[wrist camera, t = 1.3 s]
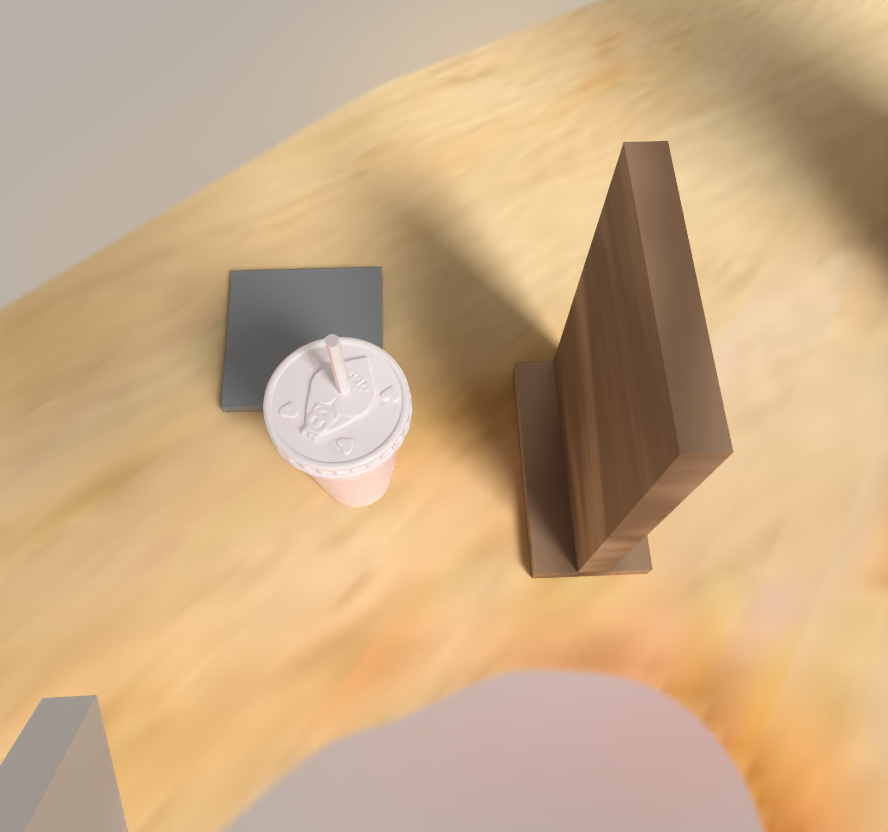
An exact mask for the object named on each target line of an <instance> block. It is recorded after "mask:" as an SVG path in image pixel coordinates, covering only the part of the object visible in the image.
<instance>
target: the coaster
mask: <svg viewBox="0 0 888 832" xmlns="http://www.w3.org/2000/svg"><path fill="white" fill-rule="evenodd" d="M331 334H334V335H336V336H338V337H349V338H356V339H360V340H364V341H367V342H369V343H372V344H374V345H376V346H378V347H379V348H381V349H383V296H382V267H362V268H327V269H291V270H255V271H232V275H231V288H230V300H229V312H228V325H227V337H226V349H225V362H224V374H223V386H222V399H221V409H222V410H223V412H236V411H263V401H264V395H265V390H266V387H267V384H268V382H269V380H270V378H271V376H272V374H273V373H274V371H275V370H276V368H277V367H278V366H279V364H280V363H281V362H282V361H283V360H284V359H285V358H286V357H287V356H289V355H290V354H291V353H292V352H294V351H295V350H297V349H298V348H300V347H302V346H304V345H306V344H308V343H311V342H314V341H317V340H320V339H325V338H326V337H327V336H328V335H331Z"/></svg>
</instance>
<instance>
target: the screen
mask: <svg viewBox="0 0 888 832" xmlns="http://www.w3.org/2000/svg"><path fill="white" fill-rule="evenodd" d="M513 374H514V385H515V396H516V407H517V418H518V429H519V440H520V451H521V462H522V473H523V484H524V495H525V506H526V518H527V529H528V540H529V551H530V562H531V573H532V578H552V577H576V576H600V575H625V574H647V573H649V572H650V571H651V570H652V564H651V557H650V551H649V544H648V538H647V535H648V534H649V533H650V532H651V531H652V530H653V529H654V528H655V527H656V526H657V525H658V524H659V523H660V522H661V521H662V520H663V519H664V518H665V517H666V516H667V515H668V514H669V513H671V512H672V511H673V510H674V509H675V508H676V507H677V506H678V505H679V504H680V503H681V502H682V501H683V500H684V499H685V498H686V497H687V496H688V495H689V494H690V493H691V492H692V491H693V490H694V489H696V488H697V487H698V486H699V485H700V484H701V483H702V482H703V481H704V480H705V479H706V478H707V477H708V476H709V475H710V474H711V473H712V472H713V471H714V470H715V469H716V468H717V467H718V466H719V465H720V464H722V463H723V462H724V461H725V460H726V459H727V458H728V457H729V456H730V455H731V454H732V453H733V449H732V444H731V439H730V434H729V430H728V425H727V420H726V415H725V411H724V406H723V401H722V396H721V392H720V387H719V382H718V377H717V373H716V368H715V363H714V358H713V354H712V349H711V344H710V339H709V335H708V330H707V325H706V320H705V316H704V311H703V306H702V301H701V297H700V292H699V287H698V282H697V278H696V273H695V268H694V263H693V258H692V254H691V249H690V244H689V239H688V235H687V230H686V225H685V220H684V216H683V211H682V206H681V201H680V197H679V192H678V187H677V182H676V178H675V173H674V168H673V163H672V159H671V154H670V149H669V144H668V141H652V142H624V143H623V146H622V150H621V153H620V156H619V159H618V162H617V165H616V168H615V171H614V174H613V178H612V181H611V184H610V187H609V190H608V193H607V196H606V199H605V203H604V206H603V209H602V212H601V215H600V218H599V221H598V224H597V228H596V231H595V234H594V237H593V240H592V243H591V246H590V249H589V252H588V256H587V259H586V262H585V265H584V268H583V271H582V274H581V277H580V281H579V284H578V287H577V290H576V293H575V296H574V299H573V302H572V305H571V309H570V312H569V315H568V318H567V321H566V324H565V327H564V330H563V334H562V337H561V340H560V343H559V346H558V349H557V352H556V355H555V358H554V361H550V362H519V363H515V365H514V369H513Z"/></svg>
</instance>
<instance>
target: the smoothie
mask: <svg viewBox="0 0 888 832" xmlns="http://www.w3.org/2000/svg"><path fill="white" fill-rule="evenodd" d="M263 413H264V419H265V424H266V427H267V430H268V433H269V436H270V439H271V442H272V443H273V445H274V446H275V448H276V449H277V451H278V452H279V453H280V455H281V456H282V457H283V458H284V459H285V460H287V461H288V462H289V463H290V464H291V465H293V466H294V467H295V468H297V469H299V470H301V471H304V472H306V473H308V474H310V475H311V476H312V477H313V478H314V479H315V480H316V481H317V482H318V483H319V484H320V485H321V487H322V488H323V489H324V490H325V491H326V492H327V493H328V494H329V495H330V496H331V497H332V498H333V499H334V500H336V501H337V502H339V503H340V504H343V505H345V506H349V507H363V506H367V505H369V504H372V503H374V502H375V501H377V500H378V499H379V498H381V497H382V496H383V494H384V493H385V492H386V490H387V489H388V486H389V484H390V480H391V476H392V472H393V467H394V463H395V458H396V454H397V450H398V448H399V447H400V446H401V444H402V442H403V440H404V438H405V436H406V434H407V432H408V430H409V426H410V421H411V416H412V402H411V393H410V390H409V385H408V382H407V379H406V377H405V374H404V373H403V371H402V369H401V367H400V366H399V365H398V363H397V362H396V361H395V360H394V359H393V358H392V357H391V356H390V355H389V354H388V353H387V352H385V351H384V350H383V349H381V348H379V347H378V346H376V345H374V344H372V343H369V342H367V341H364V340H360V339H356V338H349V337H338V336H336V335H334V334H331V335H328V336H327V337H326V338H325V339H320V340H317V341H314V342H311V343H308V344H306V345H304V346H302V347H300V348H298V349H297V350H295V351H294V352H292V353H291V354H290V355H289V356H287V357H286V358H285V359H284V360H283V361H282V362H281V363H280V364H279V366H278V367H277V368H276V370H275V371H274V373H273V374H272V376H271V378H270V380H269V382H268V384H267V387H266V390H265V395H264V401H263Z"/></svg>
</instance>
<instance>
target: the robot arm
mask: <svg viewBox="0 0 888 832" xmlns="http://www.w3.org/2000/svg"><path fill="white" fill-rule="evenodd" d="M0 832H128V830H127V825H126V821H125V817H124V812H123V808H122V804H121V799H120V795H119V790H118V786H117V782H116V777H115V773H114V769H113V764H112V760H111V756H110V751H109V747H108V743H107V738H106V734H105V730H104V725H103V721H102V716H101V712H100V708H99V703H98V699H97V695H92V696H74V697H55V698H42V700H41V701H40V703H39V705H38V706H37V708H36V709H35V711H34V713H33V714H32V716H31V717H30V719H29V721H28V722H27V724H26V725H25V727H24V729H23V730H22V732H21V733H20V735H19V737H18V738H17V740H16V741H15V743H14V745H13V746H12V748H11V749H10V751H9V753H8V754H7V756H6V757H5V759H4V761H3V762H2V764H1V765H0Z"/></svg>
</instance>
